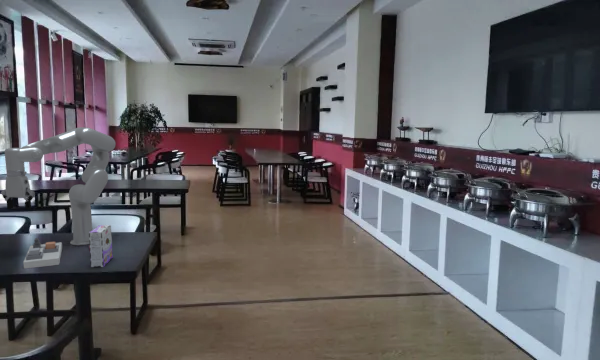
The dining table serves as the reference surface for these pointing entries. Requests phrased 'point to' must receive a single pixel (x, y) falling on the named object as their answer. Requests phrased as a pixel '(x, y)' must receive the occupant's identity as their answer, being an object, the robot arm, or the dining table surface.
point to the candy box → (100, 245)
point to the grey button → (34, 251)
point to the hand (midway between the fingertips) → (19, 208)
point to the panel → (44, 257)
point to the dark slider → (37, 243)
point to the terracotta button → (50, 245)
